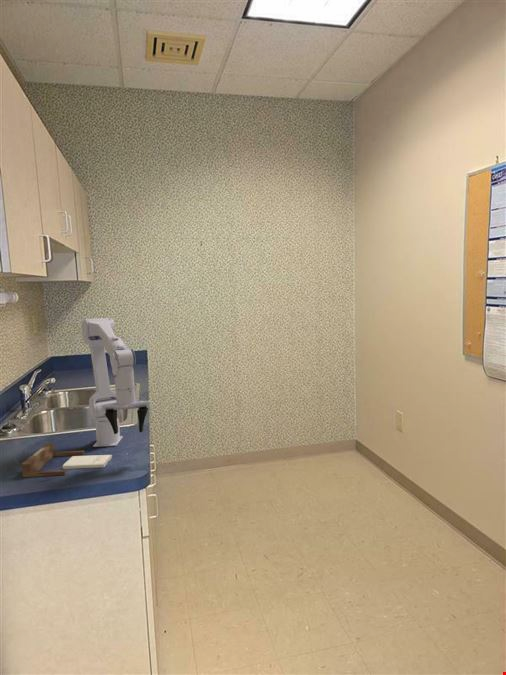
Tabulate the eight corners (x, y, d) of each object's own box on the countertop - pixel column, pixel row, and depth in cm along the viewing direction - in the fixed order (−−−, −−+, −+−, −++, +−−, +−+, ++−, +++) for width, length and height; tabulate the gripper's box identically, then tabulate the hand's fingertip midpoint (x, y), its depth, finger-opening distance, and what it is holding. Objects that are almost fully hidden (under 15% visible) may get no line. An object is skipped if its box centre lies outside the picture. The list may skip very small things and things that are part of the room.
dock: (47, 455, 143) (46, 442, 142) (84, 453, 143) (83, 440, 143) (22, 477, 125) (21, 462, 125) (64, 474, 126) (63, 460, 126)
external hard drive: (73, 460, 139) (112, 458, 139) (62, 470, 130) (104, 468, 131) (72, 455, 138) (111, 453, 139) (62, 465, 130) (103, 463, 131)
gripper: (97, 392, 128) (100, 437, 129) (146, 389, 129) (149, 434, 130) (104, 388, 135) (107, 431, 136) (150, 385, 136) (154, 427, 137)
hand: (128, 432), depth 133 cm, fingers open, 7 cm apart
